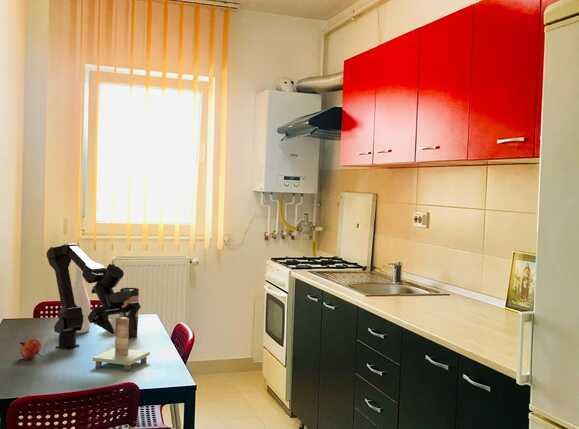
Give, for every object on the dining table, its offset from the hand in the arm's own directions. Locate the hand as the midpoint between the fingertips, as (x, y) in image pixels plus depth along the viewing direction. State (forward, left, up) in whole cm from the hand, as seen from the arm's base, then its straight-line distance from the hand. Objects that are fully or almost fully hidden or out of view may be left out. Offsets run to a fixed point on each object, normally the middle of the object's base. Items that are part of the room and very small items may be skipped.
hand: (124, 331), depth 209 cm
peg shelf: (-1, -1, -12) cm, 12 cm away
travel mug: (-38, -20, -12) cm, 44 cm away
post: (-1, -1, -8) cm, 8 cm away
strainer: (-46, -32, -12) cm, 57 cm away
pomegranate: (+4, -34, -12) cm, 37 cm away
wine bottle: (-38, -44, -12) cm, 59 cm away
